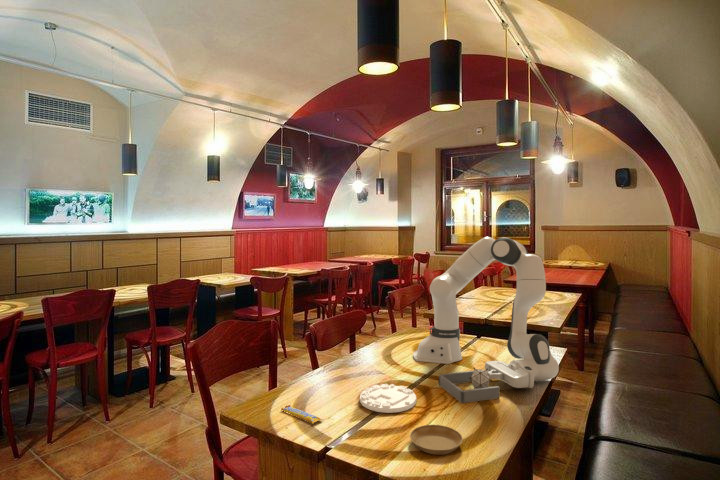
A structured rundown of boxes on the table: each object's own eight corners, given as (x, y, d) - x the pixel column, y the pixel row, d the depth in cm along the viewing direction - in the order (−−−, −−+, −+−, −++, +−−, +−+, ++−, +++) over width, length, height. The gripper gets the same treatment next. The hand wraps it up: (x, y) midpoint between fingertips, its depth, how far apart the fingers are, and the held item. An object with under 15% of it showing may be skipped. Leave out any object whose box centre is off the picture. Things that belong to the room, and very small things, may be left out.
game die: (483, 398, 165) (498, 375, 167) (483, 398, 158) (498, 375, 159) (463, 383, 169) (477, 361, 170) (462, 382, 161) (477, 360, 162)
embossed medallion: (377, 420, 141) (377, 411, 141) (350, 398, 159) (350, 390, 158) (427, 406, 150) (427, 398, 150) (397, 387, 168) (396, 379, 168)
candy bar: (279, 412, 147) (279, 407, 147) (289, 408, 151) (289, 403, 150) (313, 427, 136) (313, 421, 136) (323, 422, 140) (323, 417, 140)
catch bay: (473, 380, 174) (473, 370, 173) (499, 398, 156) (499, 387, 156) (438, 384, 169) (438, 374, 169) (461, 403, 152) (461, 391, 152)
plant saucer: (404, 453, 120) (404, 444, 120) (416, 429, 134) (416, 421, 134) (458, 463, 115) (458, 454, 115) (465, 437, 129) (465, 428, 129)
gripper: (503, 355, 178) (473, 358, 175) (536, 372, 159) (503, 376, 155) (503, 370, 179) (473, 374, 175) (536, 389, 159) (503, 393, 155)
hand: (487, 375), depth 165 cm, fingers closed, pressing on game die
